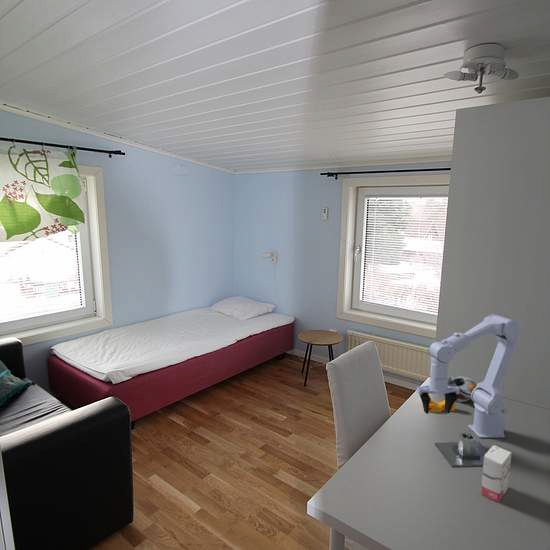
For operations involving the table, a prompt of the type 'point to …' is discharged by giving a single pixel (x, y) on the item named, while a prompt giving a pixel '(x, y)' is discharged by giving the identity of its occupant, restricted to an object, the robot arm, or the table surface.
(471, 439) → the tube
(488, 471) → the ink box
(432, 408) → the yellow curved piece
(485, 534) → the table surface
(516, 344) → the robot arm
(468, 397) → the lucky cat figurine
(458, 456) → the grey square base plate
